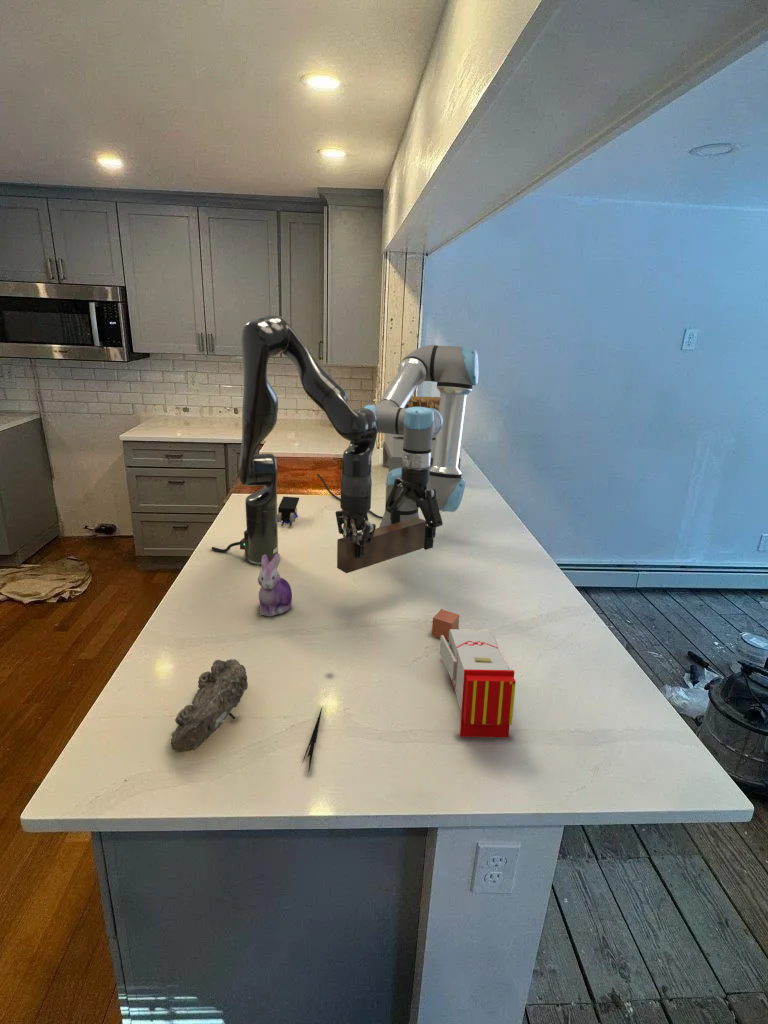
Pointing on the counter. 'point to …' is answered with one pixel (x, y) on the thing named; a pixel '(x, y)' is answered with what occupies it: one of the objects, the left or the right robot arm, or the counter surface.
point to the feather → (313, 740)
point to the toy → (479, 682)
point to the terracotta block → (444, 623)
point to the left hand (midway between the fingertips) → (354, 554)
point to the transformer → (395, 441)
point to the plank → (382, 544)
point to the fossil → (210, 704)
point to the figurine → (273, 588)
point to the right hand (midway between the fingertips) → (411, 540)
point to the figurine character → (287, 510)
